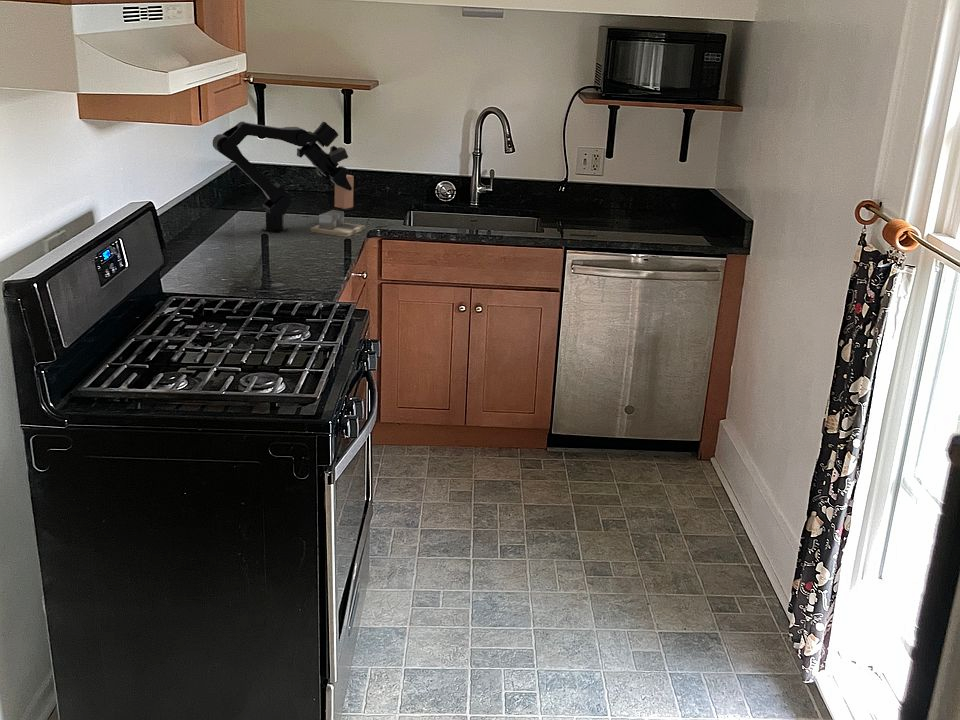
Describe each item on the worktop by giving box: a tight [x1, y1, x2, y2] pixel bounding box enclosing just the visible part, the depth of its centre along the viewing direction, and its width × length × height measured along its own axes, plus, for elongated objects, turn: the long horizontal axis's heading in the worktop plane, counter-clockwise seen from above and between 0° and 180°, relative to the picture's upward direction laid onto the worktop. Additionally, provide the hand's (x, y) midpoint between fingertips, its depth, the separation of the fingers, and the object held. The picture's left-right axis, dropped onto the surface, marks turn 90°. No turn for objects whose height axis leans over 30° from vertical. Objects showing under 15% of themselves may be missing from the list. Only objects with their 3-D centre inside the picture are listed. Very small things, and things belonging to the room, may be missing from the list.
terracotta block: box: [334, 174, 355, 210], centre depth 326 cm, size 5×5×11 cm
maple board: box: [310, 209, 366, 238], centre depth 323 cm, size 14×14×6 cm
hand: (347, 188), depth 326 cm, fingers closed on terracotta block, 6 cm apart
